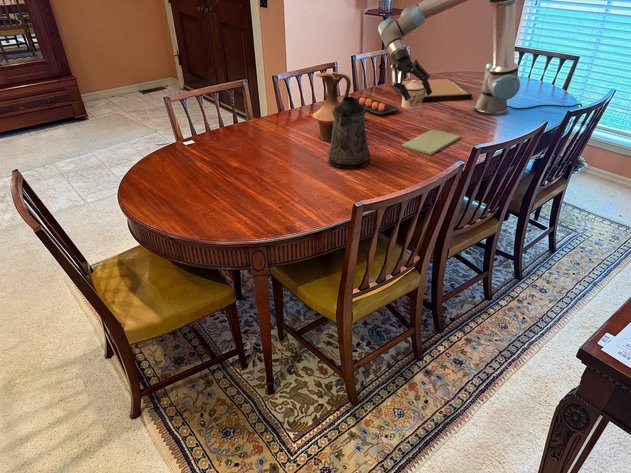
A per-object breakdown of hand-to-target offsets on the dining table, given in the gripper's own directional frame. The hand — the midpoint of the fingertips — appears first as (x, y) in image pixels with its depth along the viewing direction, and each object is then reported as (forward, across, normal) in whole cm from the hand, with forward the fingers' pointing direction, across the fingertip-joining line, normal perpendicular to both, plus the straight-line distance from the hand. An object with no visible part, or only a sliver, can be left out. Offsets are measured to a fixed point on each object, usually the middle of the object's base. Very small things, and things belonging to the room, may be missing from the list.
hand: (419, 96), depth 188 cm
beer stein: (+19, +44, -3) cm, 48 cm away
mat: (+21, +4, -1) cm, 21 cm away
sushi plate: (-16, +4, -38) cm, 41 cm away
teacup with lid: (+2, 0, -5) cm, 6 cm away
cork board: (-19, -48, -41) cm, 66 cm away
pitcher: (0, +35, -22) cm, 41 cm away
